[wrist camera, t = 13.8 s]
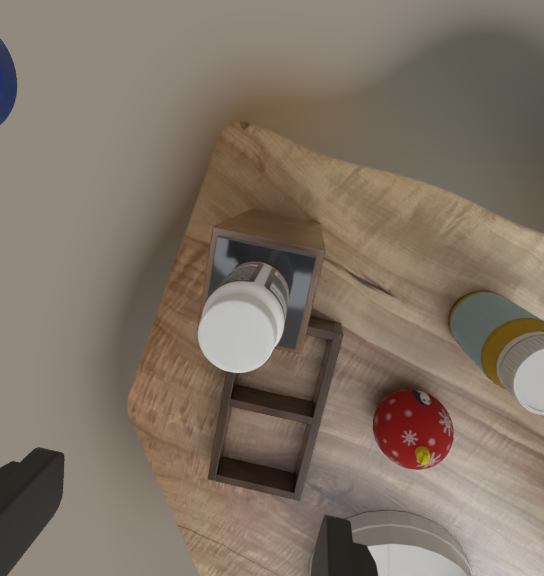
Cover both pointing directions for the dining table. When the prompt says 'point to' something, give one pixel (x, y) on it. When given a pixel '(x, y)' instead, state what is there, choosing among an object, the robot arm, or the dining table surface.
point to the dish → (408, 545)
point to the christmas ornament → (413, 429)
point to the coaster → (287, 262)
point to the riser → (274, 234)
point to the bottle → (503, 344)
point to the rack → (279, 407)
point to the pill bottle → (244, 318)
